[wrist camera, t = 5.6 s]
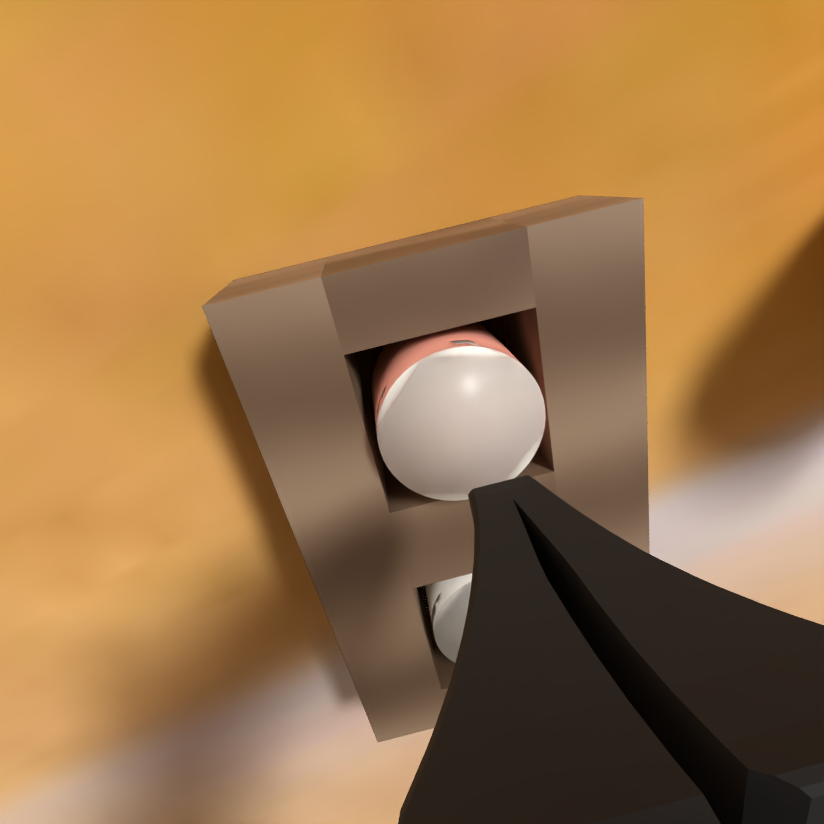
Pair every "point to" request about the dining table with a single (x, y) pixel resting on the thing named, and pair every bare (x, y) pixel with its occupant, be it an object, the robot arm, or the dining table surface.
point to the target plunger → (455, 412)
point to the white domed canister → (449, 612)
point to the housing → (355, 433)
